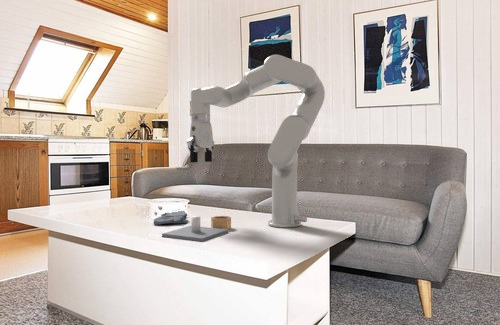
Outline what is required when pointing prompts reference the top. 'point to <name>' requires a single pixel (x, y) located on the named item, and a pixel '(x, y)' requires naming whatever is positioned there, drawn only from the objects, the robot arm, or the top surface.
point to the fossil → (171, 218)
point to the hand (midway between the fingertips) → (201, 162)
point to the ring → (221, 222)
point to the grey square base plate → (195, 231)
